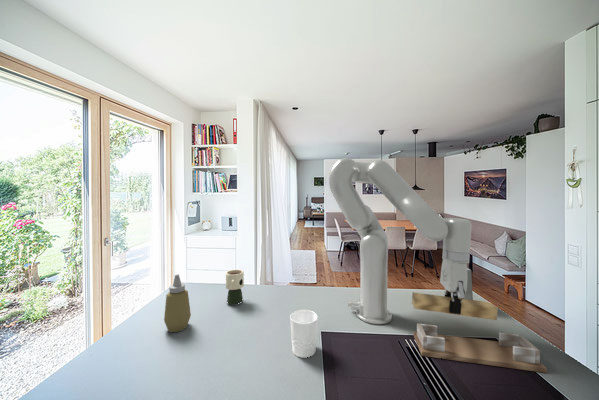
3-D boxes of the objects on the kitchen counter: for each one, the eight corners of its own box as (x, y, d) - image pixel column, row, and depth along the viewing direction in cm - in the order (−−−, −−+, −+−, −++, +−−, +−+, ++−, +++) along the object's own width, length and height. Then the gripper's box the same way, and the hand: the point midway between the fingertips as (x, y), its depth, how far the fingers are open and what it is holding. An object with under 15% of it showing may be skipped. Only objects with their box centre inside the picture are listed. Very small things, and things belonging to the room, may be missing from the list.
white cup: (309, 363, 65) (309, 326, 64) (284, 353, 69) (284, 318, 68) (322, 347, 71) (322, 314, 71) (299, 339, 75) (299, 307, 75)
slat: (414, 308, 82) (415, 297, 82) (411, 303, 86) (412, 292, 86) (496, 320, 76) (497, 307, 76) (489, 314, 80) (490, 302, 80)
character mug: (242, 309, 95) (241, 276, 95) (223, 309, 94) (223, 276, 94) (245, 297, 106) (245, 267, 105) (228, 297, 105) (228, 268, 105)
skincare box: (473, 311, 93) (474, 270, 92) (453, 309, 94) (453, 269, 94) (463, 301, 101) (464, 264, 101) (444, 300, 102) (445, 263, 102)
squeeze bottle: (196, 324, 84) (195, 273, 83) (175, 337, 76) (174, 280, 76) (179, 319, 87) (179, 269, 87) (158, 331, 80) (157, 277, 79)
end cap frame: (421, 355, 68) (421, 339, 67) (413, 335, 77) (413, 320, 77) (546, 373, 61) (547, 354, 61) (520, 348, 71) (520, 332, 71)
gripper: (435, 248, 89) (431, 297, 90) (452, 261, 73) (448, 321, 74) (457, 250, 88) (454, 300, 88) (481, 264, 71) (476, 325, 72)
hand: (452, 309), depth 81 cm, fingers closed on slat, 4 cm apart
